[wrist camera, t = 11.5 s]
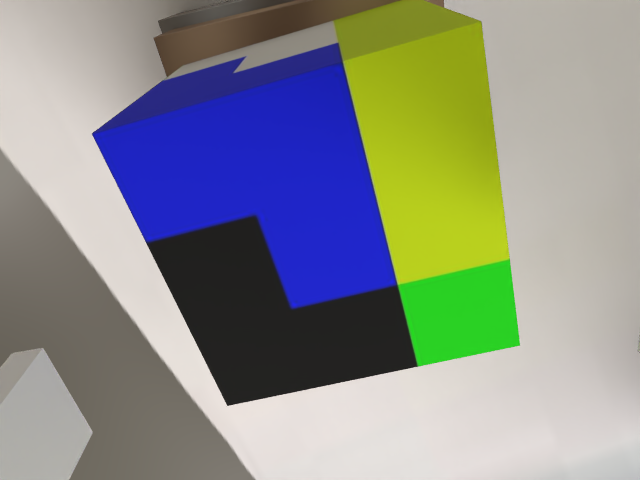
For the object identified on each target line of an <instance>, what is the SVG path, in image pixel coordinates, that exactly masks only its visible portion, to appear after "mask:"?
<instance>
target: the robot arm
mask: <svg viewBox="0 0 640 480" xmlns="http://www.w3.org/2000/svg"><path fill="white" fill-rule="evenodd" d="M638 351H639V353H640V335H639V346H638ZM92 433H93V432H92V430H91V428H90V427H89V425H88V423H87V422H86V420H85V418H84V417H83V415H82V413H81V412H80V410H79V408H78V406H77V405H76V403H75V402H74V400H73V398H72V396H71V395H70V393H69V392H68V390H67V388H66V386H65V385H64V383H63V381H62V379H61V378H60V376H59V375H58V373H57V371H56V369H55V368H54V366H53V364H52V362H51V361H50V360H49V357H48V356H47V354H46V352H45V351H44V349H43V348H40V349H34V350H28V351H22V352H16V353H12V354H11V355H10V356H9V358H8V359H7V360H6V361H5V363H4V364H3V365H2V366H1V368H0V480H69V479H70V477H71V474H72V472H73V471H74V469H75V467H76V464H77V463H78V461H79V459H80V456H81V455H82V453H83V451H84V449H85V447H86V445H87V443H88V441H89V439H90V437H91V435H92Z"/></svg>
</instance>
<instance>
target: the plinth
mask: <svg viewBox="0 0 640 480" xmlns="http://www.w3.org/2000/svg"><path fill="white" fill-rule="evenodd" d="M397 1H400V0H233V1H229V2H224V3H220V4H216V5H212V6H208V7H204V8H199V9H195V10H191V11H187V12H183V13H179V14H176V15H173V16H170V17H167V18H165V19H162V20H159V21H158V22H159V25H160V28H161V31H162V34H161V35H159V36H157V37H155V38H154V40H155V43H156V46H157V49H158V52H159V55H160V58H161V61H162V64H163V67H164V69H165V72H166V75H167V77H168V76H170V75H171V74H172V73H174V72H175V71H176V70H178V69H179V68H180V67H182V66H183V65H186V64H190V63H193V62H196V61H200V60H203V59H206V58H210V57H213V56H216V55H220V54H223V53H226V52H230V51H233V50H236V49H240V48H243V47H246V46H250V45H253V44H256V43H260V42H263V41H266V40H270V39H273V38H276V37H280V36H283V35H286V34H290V33H293V32H296V31H300V30H303V29H306V28H310V27H313V26H316V25H320V24H323V23H326V22H330V21H333V20H336V19H340V18H343V17H346V16H350V15H353V14H356V13H360V12H363V11H366V10H370V9H373V8H377V7H380V6H383V5H387V4H390V3H393V2H397ZM424 1H427V2H430V3H432V4H435V5H438V6H441V7H443V8H444V0H424Z"/></svg>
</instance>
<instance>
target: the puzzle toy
mask: <svg viewBox="0 0 640 480" xmlns="http://www.w3.org/2000/svg"><path fill="white" fill-rule="evenodd" d="M92 135H93V137H94V139H95V141H96V143H97V145H98V147H99V149H100V151H101V153H102V155H103V157H104V159H105V161H106V163H107V165H108V167H109V169H110V171H111V173H112V175H113V177H114V179H115V181H116V183H117V185H118V187H119V189H120V191H121V193H122V195H123V197H124V199H125V201H126V203H127V205H128V207H129V209H130V211H131V213H132V215H133V217H134V219H135V221H136V223H137V225H138V227H139V229H140V231H141V233H142V235H143V237H144V239H145V241H146V243H147V245H148V247H149V249H150V251H151V253H152V255H153V257H154V259H155V261H156V263H157V265H158V267H159V269H160V271H161V273H162V275H163V277H164V279H165V281H166V283H167V285H168V287H169V289H170V291H171V293H172V295H173V297H174V299H175V301H176V303H177V305H178V308H179V310H180V312H181V314H182V316H183V318H184V320H185V322H186V324H187V326H188V328H189V330H190V332H191V334H192V336H193V338H194V340H195V342H196V344H197V346H198V348H199V350H200V352H201V354H202V356H203V358H204V360H205V362H206V364H207V366H208V368H209V370H210V372H211V374H212V376H213V378H214V380H215V382H216V384H217V386H218V388H219V390H220V392H221V394H222V396H223V398H224V400H225V402H226V404H227V406H229V405H234V404H239V403H244V402H248V401H253V400H258V399H263V398H268V397H273V396H277V395H282V394H287V393H292V392H297V391H302V390H307V389H311V388H316V387H321V386H326V385H331V384H336V383H340V382H345V381H350V380H355V379H360V378H365V377H369V376H374V375H379V374H384V373H389V372H394V371H398V370H403V369H408V368H413V367H418V366H423V365H428V364H432V363H437V362H442V361H447V360H452V359H457V358H461V357H466V356H471V355H476V354H481V353H486V352H490V351H495V350H500V349H505V348H510V347H515V346H519V345H520V341H519V333H518V325H517V316H516V308H515V300H514V291H513V283H512V274H511V266H510V258H509V249H508V241H507V233H506V224H505V216H504V207H503V199H502V191H501V182H500V174H499V166H498V157H497V149H496V141H495V132H494V124H493V115H492V107H491V99H490V90H489V82H488V74H487V65H486V57H485V48H484V40H483V32H482V23H481V21H479V20H476V19H474V18H471V17H468V16H465V15H463V14H460V13H457V12H454V11H452V10H449V9H446V8H443V7H441V6H438V5H435V4H432V3H430V2H427V1H424V0H400V1H397V2H393V3H390V4H387V5H383V6H380V7H377V8H373V9H370V10H366V11H363V12H360V13H356V14H353V15H350V16H346V17H343V18H340V19H336V20H333V21H330V22H326V23H323V24H320V25H316V26H313V27H310V28H306V29H303V30H300V31H296V32H293V33H290V34H286V35H283V36H280V37H276V38H273V39H270V40H266V41H263V42H260V43H256V44H253V45H250V46H246V47H243V48H240V49H236V50H233V51H230V52H226V53H223V54H220V55H216V56H213V57H210V58H206V59H203V60H200V61H196V62H193V63H190V64H186V65H183V66H182V67H180V68H179V69H178V70H176V71H175V72H174V73H172V74H171V75H170V76H168V77H167V78H166V79H164V80H163V81H162V82H160V83H159V84H158V85H156V86H155V87H154V88H152V89H151V90H150V91H148V92H147V93H146V94H144V95H143V96H142V97H140V98H139V99H137V100H136V101H135V102H133V103H132V104H131V105H129V106H128V107H127V108H125V109H124V110H123V111H121V112H120V113H119V114H117V115H116V116H115V117H113V118H112V119H111V120H109V121H108V122H107V123H105V124H104V125H103V126H101V127H100V128H99V129H97V130H96V131H95V132H93V133H92Z"/></svg>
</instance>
